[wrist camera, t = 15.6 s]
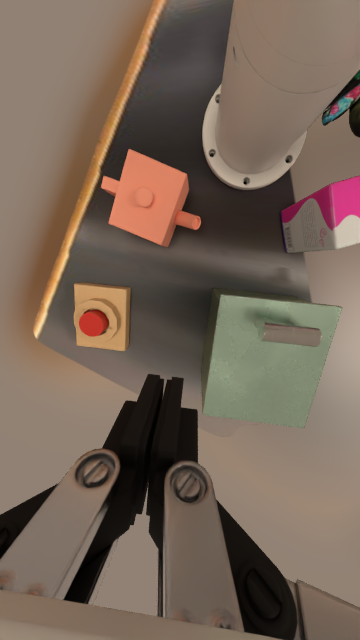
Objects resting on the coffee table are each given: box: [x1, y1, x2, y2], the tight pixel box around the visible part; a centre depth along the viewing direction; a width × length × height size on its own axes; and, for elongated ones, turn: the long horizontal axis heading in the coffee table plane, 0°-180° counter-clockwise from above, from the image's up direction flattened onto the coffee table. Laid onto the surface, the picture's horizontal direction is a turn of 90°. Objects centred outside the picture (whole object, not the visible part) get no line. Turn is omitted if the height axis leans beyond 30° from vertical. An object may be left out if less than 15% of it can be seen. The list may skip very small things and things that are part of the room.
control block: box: [74, 282, 131, 351], centre depth 34 cm, size 10×8×4 cm
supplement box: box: [280, 176, 360, 253], centre depth 25 cm, size 6×6×12 cm
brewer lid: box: [202, 293, 342, 428], centre depth 23 cm, size 15×13×5 cm
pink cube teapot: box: [101, 149, 201, 247], centre depth 27 cm, size 8×12×8 cm, turn 68°
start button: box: [79, 310, 108, 337], centre depth 32 cm, size 4×4×2 cm
